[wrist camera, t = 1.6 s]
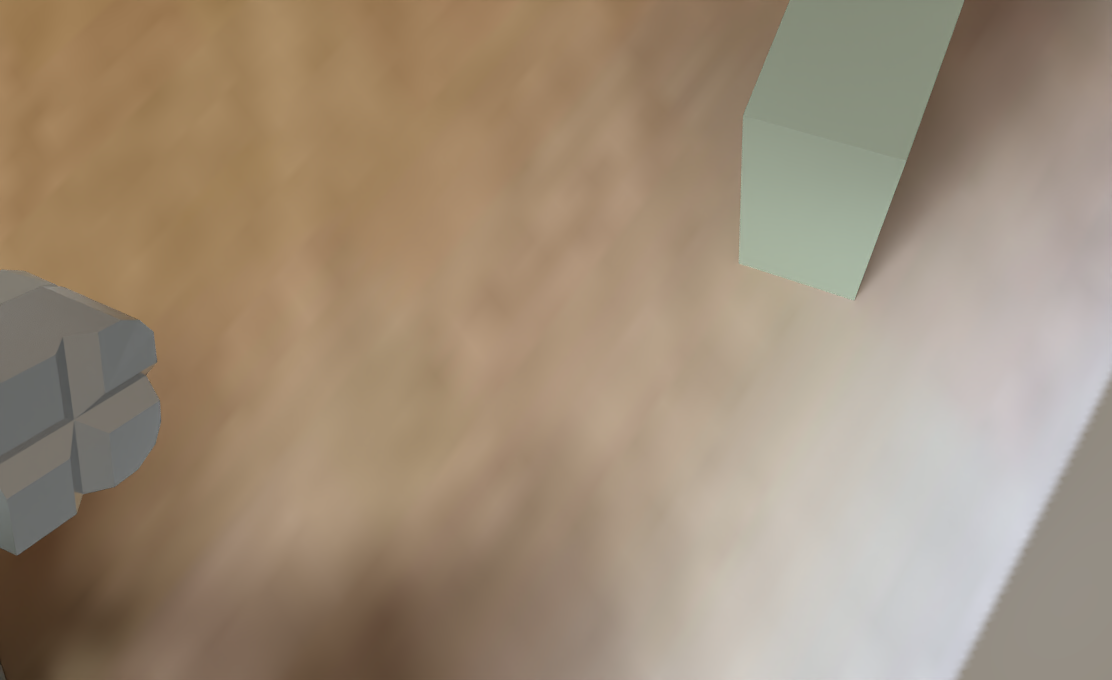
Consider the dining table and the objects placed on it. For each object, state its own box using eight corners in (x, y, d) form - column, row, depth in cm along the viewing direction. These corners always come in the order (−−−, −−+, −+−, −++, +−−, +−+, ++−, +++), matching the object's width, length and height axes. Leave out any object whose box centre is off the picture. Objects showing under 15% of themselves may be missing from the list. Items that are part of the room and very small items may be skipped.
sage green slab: (738, 263, 33) (742, 115, 24) (834, 21, 35) (872, -204, 26) (854, 300, 32) (906, 161, 23) (945, 49, 34) (1027, -175, 25)
